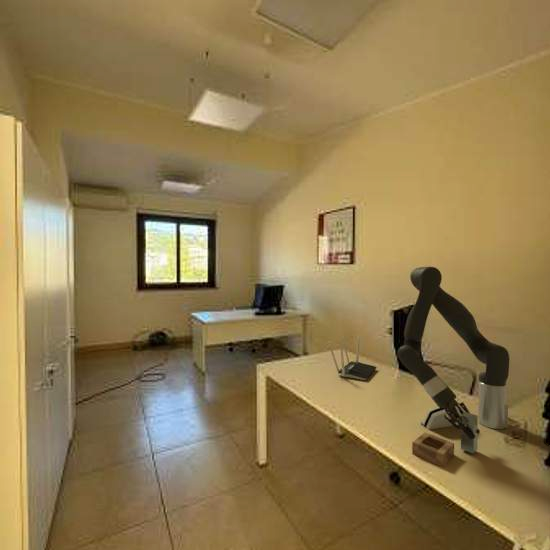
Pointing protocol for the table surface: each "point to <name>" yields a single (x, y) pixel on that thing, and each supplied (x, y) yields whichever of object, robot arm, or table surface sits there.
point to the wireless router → (353, 365)
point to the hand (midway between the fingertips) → (475, 435)
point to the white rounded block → (436, 418)
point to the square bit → (472, 423)
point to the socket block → (433, 449)
